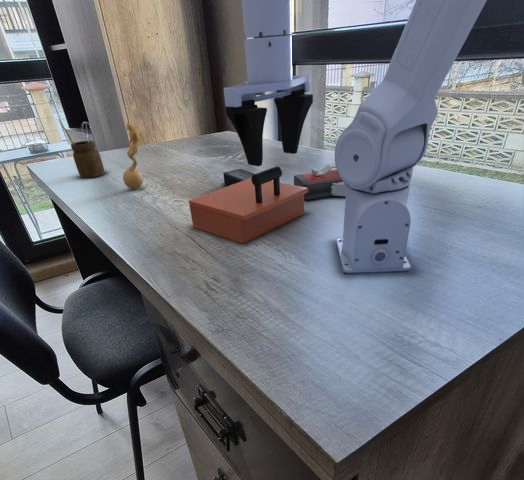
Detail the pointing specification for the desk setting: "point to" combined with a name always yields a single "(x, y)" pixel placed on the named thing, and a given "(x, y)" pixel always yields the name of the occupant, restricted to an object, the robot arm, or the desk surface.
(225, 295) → the desk surface
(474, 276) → the desk surface
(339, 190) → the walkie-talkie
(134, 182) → the figurine
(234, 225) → the tray
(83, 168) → the brown clasp jar
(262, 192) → the lid
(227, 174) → the multiport hub
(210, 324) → the desk surface
